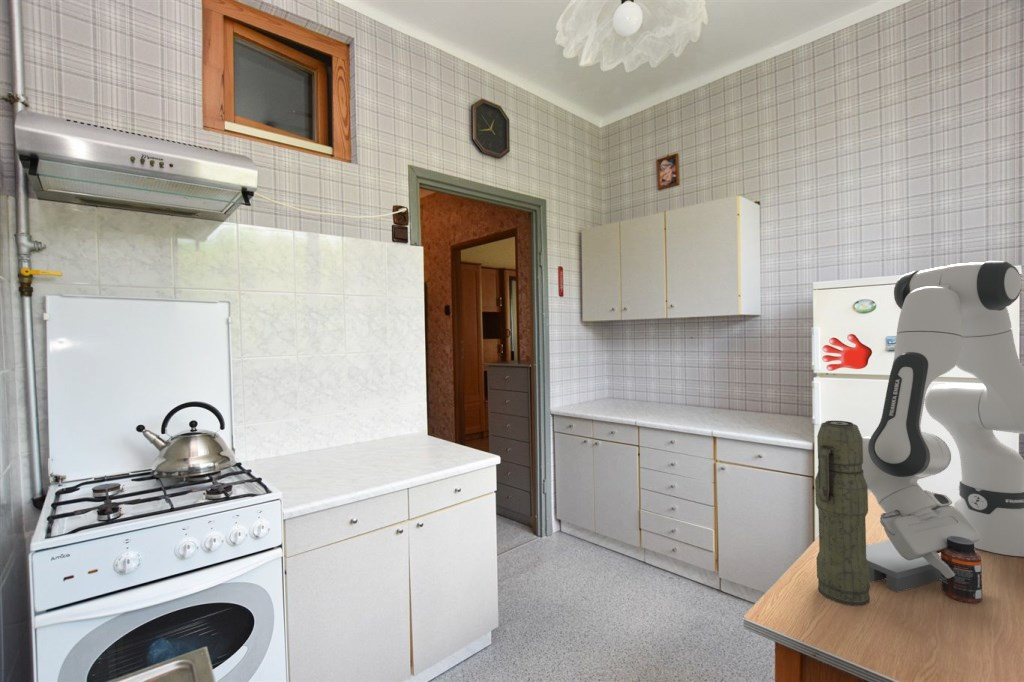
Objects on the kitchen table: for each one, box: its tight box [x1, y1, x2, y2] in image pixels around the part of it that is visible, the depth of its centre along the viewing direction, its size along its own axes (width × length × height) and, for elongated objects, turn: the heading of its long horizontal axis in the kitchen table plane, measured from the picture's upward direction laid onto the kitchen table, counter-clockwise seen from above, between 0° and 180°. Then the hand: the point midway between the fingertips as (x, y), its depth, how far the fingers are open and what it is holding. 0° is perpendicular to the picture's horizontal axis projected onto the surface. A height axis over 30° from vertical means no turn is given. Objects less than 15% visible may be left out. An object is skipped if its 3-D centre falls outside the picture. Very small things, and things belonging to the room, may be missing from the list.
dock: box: [866, 539, 942, 593], centre depth 105 cm, size 16×11×4 cm
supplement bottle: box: [940, 536, 983, 604], centre depth 95 cm, size 6×6×11 cm
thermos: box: [814, 420, 871, 607], centre depth 97 cm, size 9×12×35 cm
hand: (965, 573), depth 95 cm, fingers closed on supplement bottle, 6 cm apart
